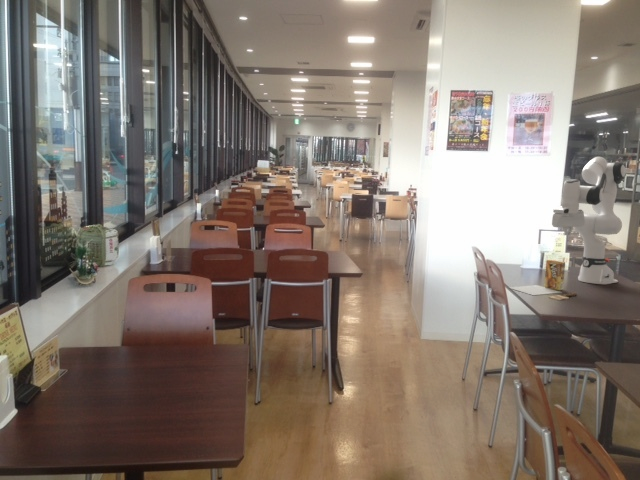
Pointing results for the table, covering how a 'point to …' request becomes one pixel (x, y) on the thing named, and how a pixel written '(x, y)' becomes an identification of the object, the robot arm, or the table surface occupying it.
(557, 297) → the turner
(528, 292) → the mat
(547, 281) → the candy box
